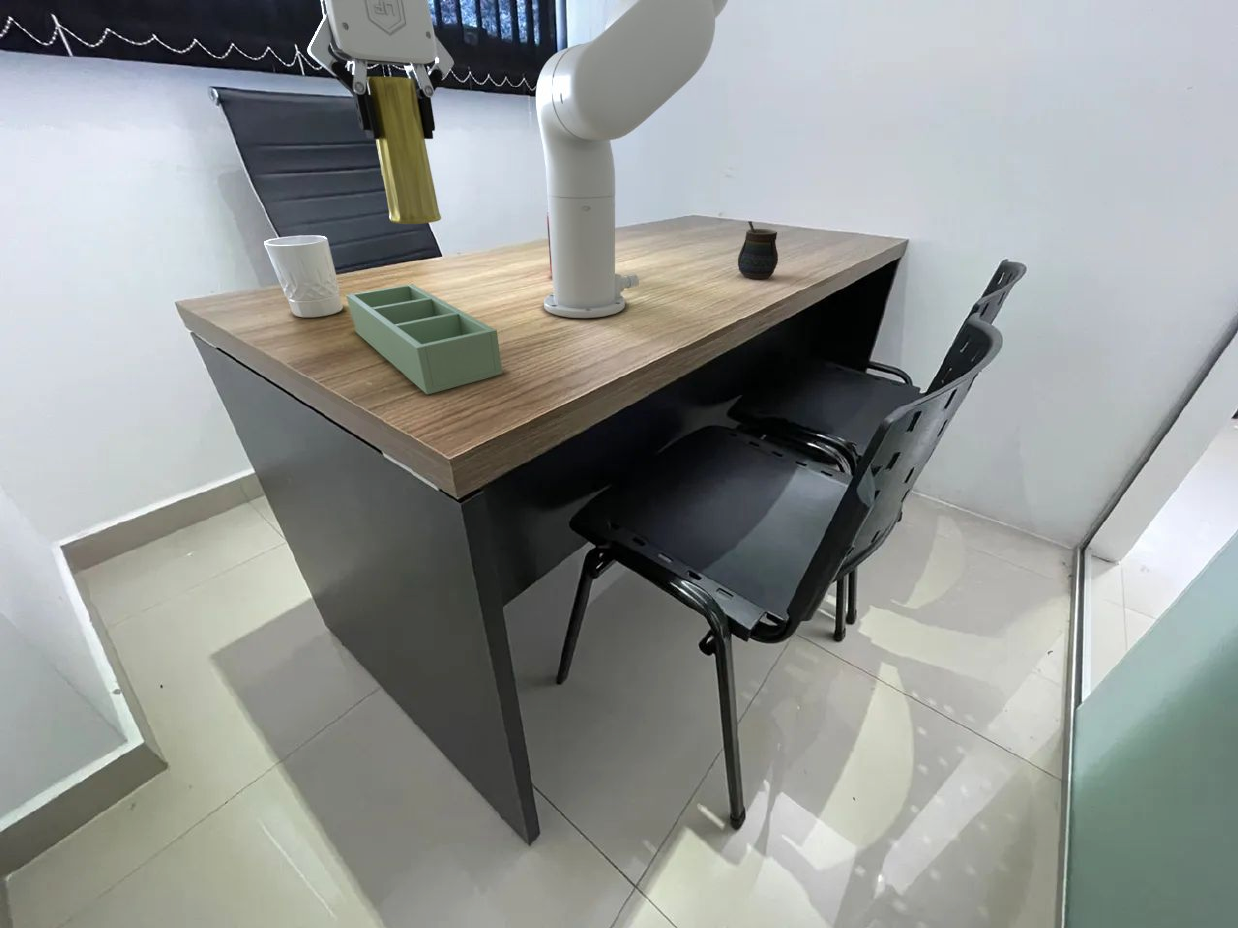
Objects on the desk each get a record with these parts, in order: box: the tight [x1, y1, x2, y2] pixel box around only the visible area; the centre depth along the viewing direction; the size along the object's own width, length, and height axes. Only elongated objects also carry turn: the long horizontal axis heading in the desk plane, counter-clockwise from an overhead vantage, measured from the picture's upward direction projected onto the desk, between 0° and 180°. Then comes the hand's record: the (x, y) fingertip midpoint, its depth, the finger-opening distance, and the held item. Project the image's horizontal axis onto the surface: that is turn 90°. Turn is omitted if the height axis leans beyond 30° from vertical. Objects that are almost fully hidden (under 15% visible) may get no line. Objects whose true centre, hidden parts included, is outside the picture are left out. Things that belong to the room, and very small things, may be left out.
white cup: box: [263, 235, 344, 319], centre depth 75 cm, size 8×8×10 cm
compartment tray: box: [345, 283, 503, 396], centre depth 62 cm, size 9×25×5 cm, turn 39°
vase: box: [366, 76, 442, 225], centre depth 60 cm, size 6×6×14 cm
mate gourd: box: [737, 220, 779, 280], centre depth 94 cm, size 7×8×10 cm
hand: (400, 136), depth 59 cm, fingers closed on vase, 5 cm apart
